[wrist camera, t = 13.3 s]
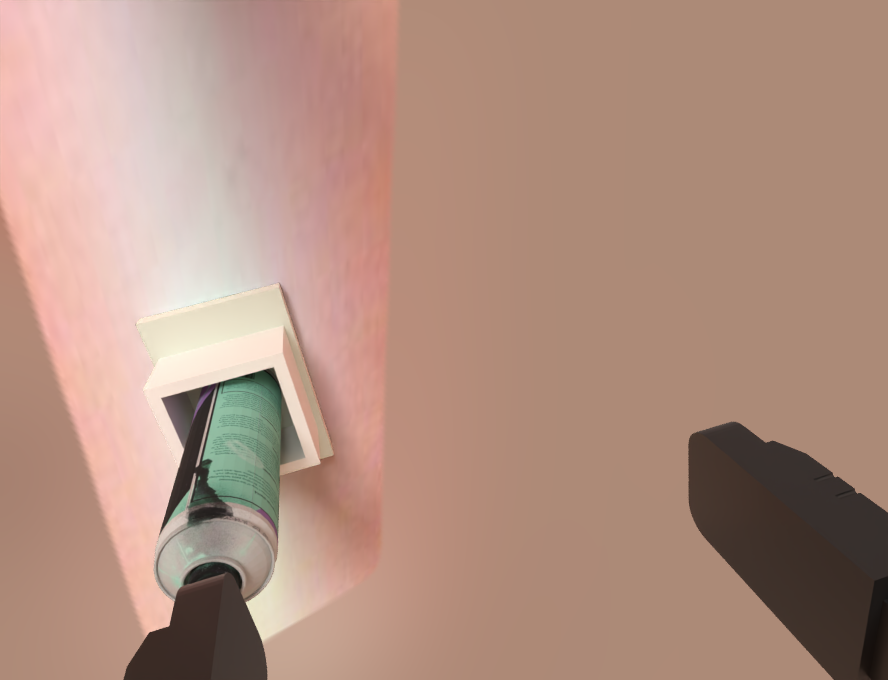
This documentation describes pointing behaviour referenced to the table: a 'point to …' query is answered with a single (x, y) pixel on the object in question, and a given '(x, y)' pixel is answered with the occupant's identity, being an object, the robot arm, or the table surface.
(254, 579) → the spray can
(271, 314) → the can holder
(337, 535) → the table surface
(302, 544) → the table surface
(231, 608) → the robot arm
